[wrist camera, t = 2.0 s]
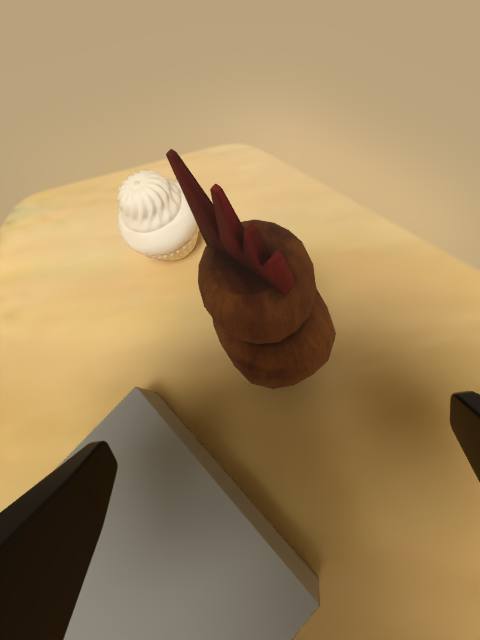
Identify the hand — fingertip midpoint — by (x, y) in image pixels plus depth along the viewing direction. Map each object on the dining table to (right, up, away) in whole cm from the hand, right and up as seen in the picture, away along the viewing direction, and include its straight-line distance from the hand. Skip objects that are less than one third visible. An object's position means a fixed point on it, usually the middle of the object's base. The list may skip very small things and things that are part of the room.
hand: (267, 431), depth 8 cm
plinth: (-6, -11, +10) cm, 17 cm away
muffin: (-6, +9, +18) cm, 21 cm away
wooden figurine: (+2, +1, +13) cm, 14 cm away
